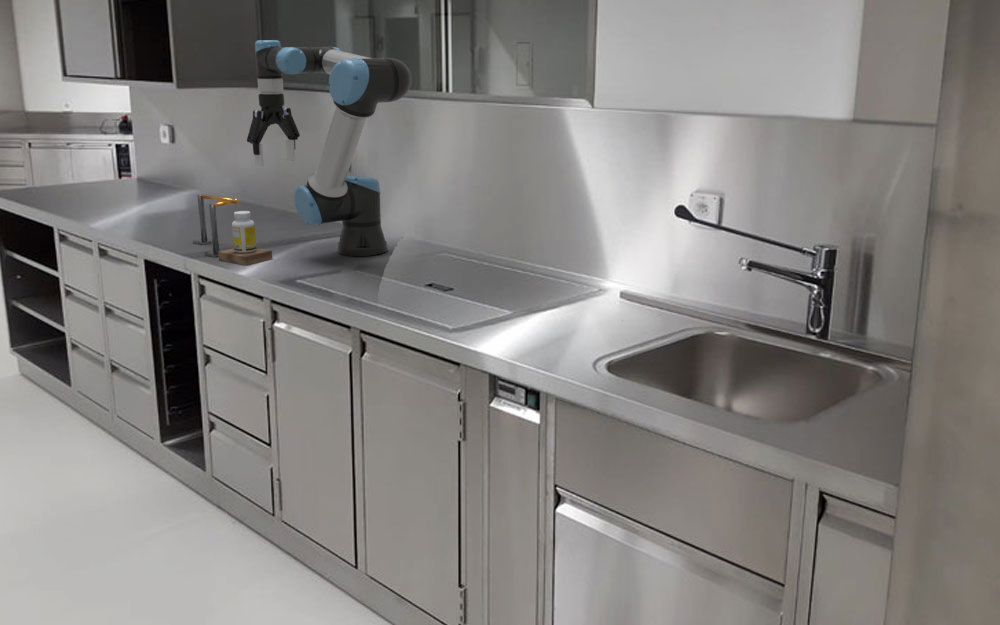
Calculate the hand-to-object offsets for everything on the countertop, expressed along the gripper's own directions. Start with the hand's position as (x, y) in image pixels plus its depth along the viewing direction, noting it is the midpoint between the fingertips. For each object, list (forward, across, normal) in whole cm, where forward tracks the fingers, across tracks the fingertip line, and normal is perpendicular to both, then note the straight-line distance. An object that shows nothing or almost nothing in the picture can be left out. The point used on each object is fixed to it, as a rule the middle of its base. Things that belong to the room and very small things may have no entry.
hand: (275, 163), depth 287 cm
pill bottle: (+23, +21, +6) cm, 32 cm away
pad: (+26, +21, +6) cm, 34 cm away
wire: (+26, +16, -14) cm, 34 cm away
